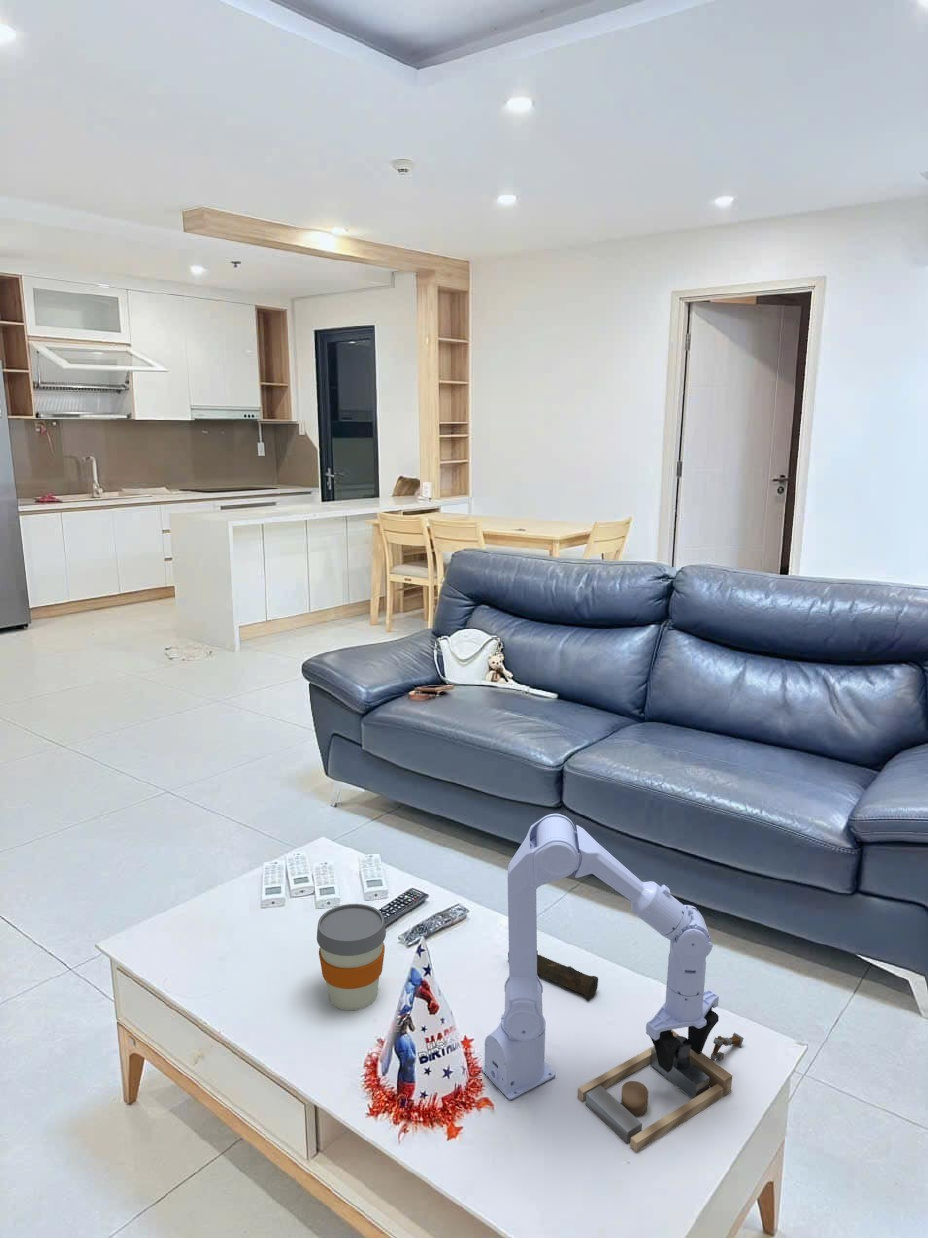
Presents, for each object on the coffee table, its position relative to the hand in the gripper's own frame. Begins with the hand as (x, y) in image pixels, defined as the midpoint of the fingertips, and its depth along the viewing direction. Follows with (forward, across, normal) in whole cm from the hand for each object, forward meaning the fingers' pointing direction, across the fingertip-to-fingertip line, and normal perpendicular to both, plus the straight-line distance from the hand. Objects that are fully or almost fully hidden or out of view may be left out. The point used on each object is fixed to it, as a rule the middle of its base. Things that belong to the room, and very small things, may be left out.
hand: (680, 1058), depth 139 cm
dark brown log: (+4, -1, +32) cm, 32 cm away
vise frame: (+4, -5, 0) cm, 7 cm away
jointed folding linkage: (+4, +11, 0) cm, 12 cm away
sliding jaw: (+4, 0, 0) cm, 4 cm away
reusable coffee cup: (+4, -34, +48) cm, 59 cm away
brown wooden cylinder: (+4, -10, 0) cm, 11 cm away
